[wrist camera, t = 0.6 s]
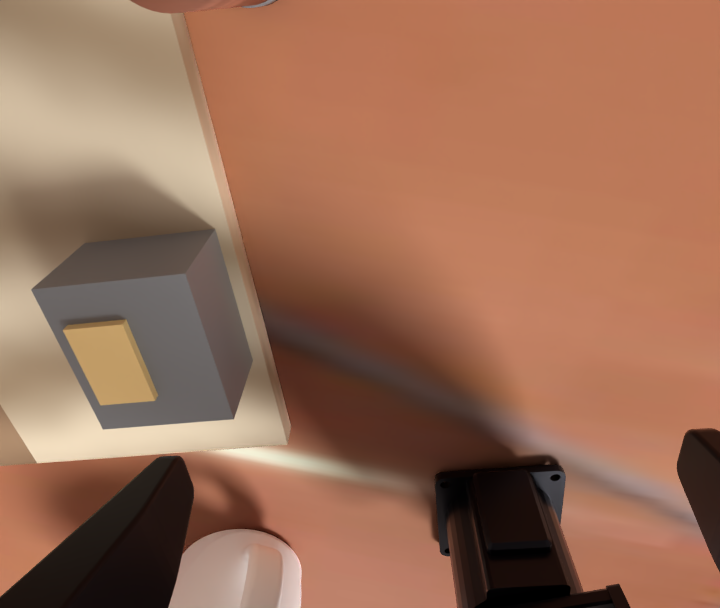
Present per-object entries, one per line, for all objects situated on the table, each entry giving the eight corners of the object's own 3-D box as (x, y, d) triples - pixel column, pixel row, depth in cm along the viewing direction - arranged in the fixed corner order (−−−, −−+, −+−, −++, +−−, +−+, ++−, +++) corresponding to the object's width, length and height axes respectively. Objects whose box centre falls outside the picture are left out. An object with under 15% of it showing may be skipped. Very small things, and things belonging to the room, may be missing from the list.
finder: (252, 360, 22) (232, 425, 19) (139, 370, 22) (99, 435, 19) (215, 228, 19) (182, 278, 16) (84, 243, 19) (25, 294, 16)
